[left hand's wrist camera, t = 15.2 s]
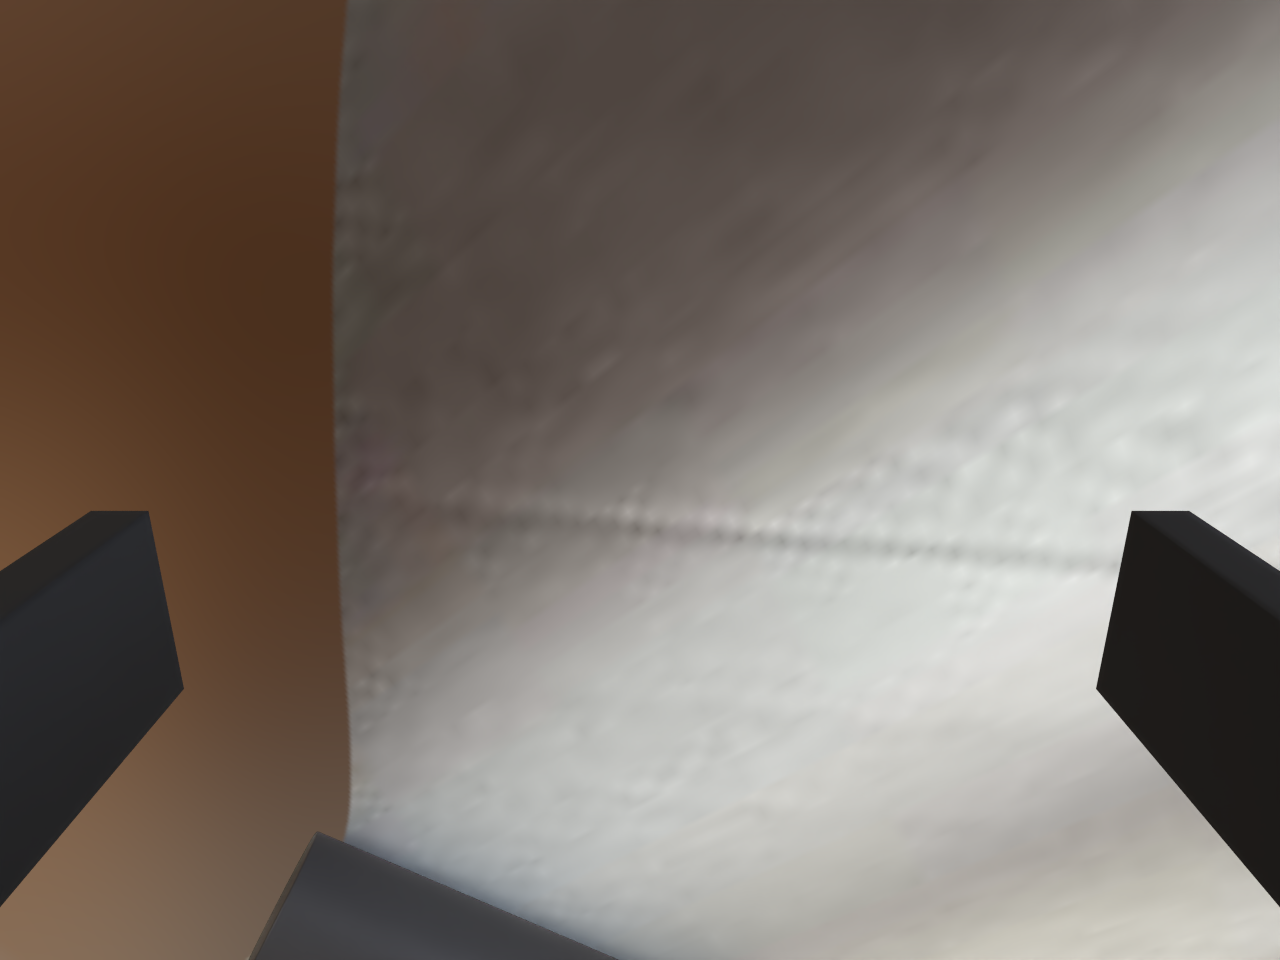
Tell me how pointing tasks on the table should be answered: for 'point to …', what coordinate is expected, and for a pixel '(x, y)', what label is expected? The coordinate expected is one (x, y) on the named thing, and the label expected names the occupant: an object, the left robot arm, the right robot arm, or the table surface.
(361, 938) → the rod
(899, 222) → the table surface
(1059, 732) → the table surface
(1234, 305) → the table surface
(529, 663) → the table surface
